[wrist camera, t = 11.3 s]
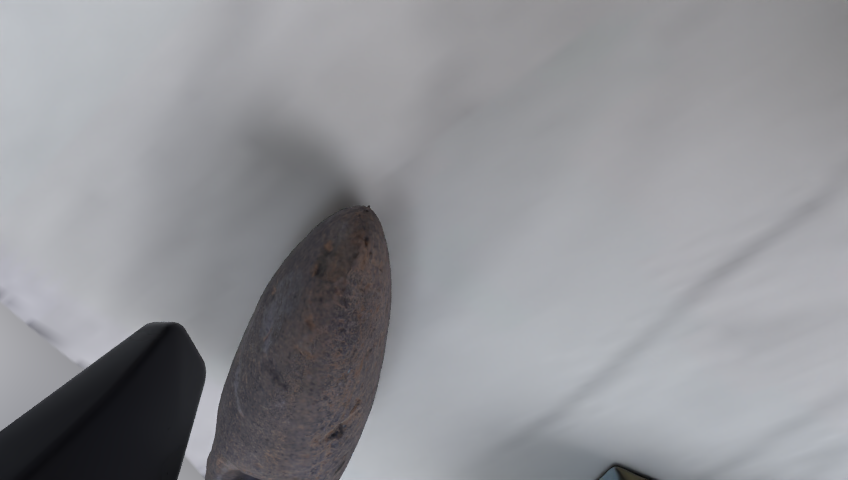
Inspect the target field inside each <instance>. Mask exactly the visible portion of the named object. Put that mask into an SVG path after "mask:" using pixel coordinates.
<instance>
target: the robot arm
mask: <svg viewBox="0 0 848 480" xmlns="http://www.w3.org/2000/svg"><path fill="white" fill-rule="evenodd" d="M205 378H206V367H205V363H204V361H203V359H202V357H201V355H200V354H199V352H198V350H197V349H196V347H195V345H194V343H193V342H192V340H191V338H190V337H189V335H188V333H187V331H186V330H185V328H184V327H183V326H182V325H180V324H179V323H176V322H152V323H149V324H146V325H145V326H143V327H142V328H140V329H139V330H138V331H136V332H135V333H134V334H132V335H131V336H130V337H128V338H127V339H126V340H124V341H123V342H121V343H120V344H119V345H117V346H116V347H115V348H113V349H112V350H111V351H109V352H108V353H106V354H105V355H104V356H102V357H101V358H100V359H98V360H97V361H96V362H94V363H93V364H92V365H90V366H89V367H87V368H86V369H85V370H83V371H82V372H81V373H79V374H78V375H77V376H75V377H74V378H72V379H71V380H70V381H68V382H67V383H66V384H64V385H63V386H62V387H60V388H59V389H57V390H56V391H55V392H53V393H52V394H51V395H50V396H48V397H47V398H45V399H44V400H43V401H41V402H40V403H39V404H37V405H36V406H34V407H33V408H32V409H31V410H29V411H28V412H26V413H25V414H23V415H22V416H21V417H19V418H18V419H17V420H15V421H14V422H13V423H11V424H10V425H8V426H7V427H6V428H4V429H3V430H2V431H0V480H177V479H178V475H179V472H180V469H181V466H182V462H183V458H184V455H185V451H186V448H187V444H188V440H189V437H190V433H191V430H192V426H193V422H194V419H195V415H196V412H197V408H198V404H199V401H200V397H201V394H202V390H203V386H204V383H205Z"/></svg>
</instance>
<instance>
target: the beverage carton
mask: <svg viewBox="0 0 848 480" xmlns="http://www.w3.org/2000/svg"><path fill="white" fill-rule="evenodd" d="M599 480H648V479H645V478H642V477H640V476H638V475H636V474H633V473H631V472H629V471H627V470H625V469H623V468H620V467H618V466H617V467H613V468H611V469H610V470H609V471H608V472H607V473H606V474H605V475H604V476H603V477H602V478H600V479H599Z"/></svg>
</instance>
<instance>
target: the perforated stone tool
mask: <svg viewBox="0 0 848 480" xmlns="http://www.w3.org/2000/svg"><path fill="white" fill-rule="evenodd" d="M390 310H391V270H390V263H389V254H388V249H387V243H386V240H385V237H384V232H383V229H382V226H381V223H380V221H379V219H378V217H377V216H376V214H375V213H374V212H373V211H372V210H371V209H370V206H368V207H366V206H353V207H350V208H345V209H342V210H340V211H338V212H336V213H335V214H333V215H332V216H330V217H328V218H327V219H325V220H324V221H323V222H321V223H320V224H319V225H318V226H317V227H315V228H314V229H313V230H312V231H311V232H310V233H309V234H308V235H307V236H306V237H305V238H304V239H303V241H302V242H301V243H299V244H298V245H297V247H296V248H295V249H294V250H293V251H292V252H291V253H290V255H289V256H288V257H287V258H286V259H285V260H284V262H283V263H282V264H281V266H280V267H279V269H278V270H277V271H276V273H275V274H274V276H273V277H272V279H271V280H270V282H269V283H268V285H267V286H266V288H265V290H264V292H263V294H262V296H261V298H260V300H259V302H258V304H257V307H256V309H255V312H254V314H253V315H252V317H251V319H250V322H249V324H248V326H247V328H246V330H245V333H244V335H243V337H242V340H241V342H240V345H239V347H238V350H237V352H236V354H235V357H234V359H233V362H232V365H231V368H230V371H229V373H228V376H227V379H226V382H225V385H224V388H223V391H222V394H221V399H220V403H219V407H218V415H217V424H216V433H215V438H214V442H213V446H212V450H211V452H210V454H209V456H208V459H207V466H206V475H205V480H339V479H340V477H341V476H342V474H343V472H344V470H345V469H346V467H347V465H348V462H349V460H350V458H351V456H352V454H353V452H354V450H355V448H356V446H357V443H358V441H359V439H360V436H361V434H362V431H363V429H364V426H365V423H366V421H367V418H368V416H369V413H370V410H371V407H372V404H373V401H374V398H375V394H376V391H377V387H378V382H379V378H380V372H381V368H382V363H383V358H384V353H385V346H386V339H387V333H388V326H389V319H390Z"/></svg>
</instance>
